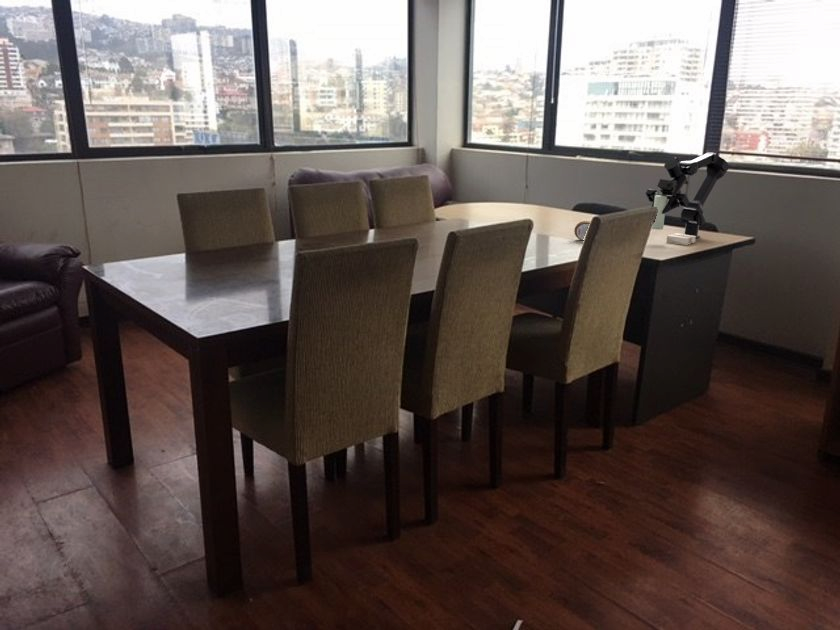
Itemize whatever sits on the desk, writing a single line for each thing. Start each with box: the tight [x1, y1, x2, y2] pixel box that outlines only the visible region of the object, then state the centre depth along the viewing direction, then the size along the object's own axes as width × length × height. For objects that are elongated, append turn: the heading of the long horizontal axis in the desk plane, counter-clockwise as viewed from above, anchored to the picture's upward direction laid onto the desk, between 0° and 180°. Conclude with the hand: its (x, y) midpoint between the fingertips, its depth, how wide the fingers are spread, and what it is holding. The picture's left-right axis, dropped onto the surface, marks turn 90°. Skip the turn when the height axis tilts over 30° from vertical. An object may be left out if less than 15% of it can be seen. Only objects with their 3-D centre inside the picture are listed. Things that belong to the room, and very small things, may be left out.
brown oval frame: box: [574, 220, 591, 241], centre depth 301 cm, size 15×3×8 cm, turn 84°
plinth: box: [666, 232, 697, 246], centre depth 303 cm, size 9×9×3 cm
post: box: [651, 195, 668, 231], centre depth 297 cm, size 5×5×14 cm
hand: (657, 212), depth 296 cm, fingers closed on post, 5 cm apart
